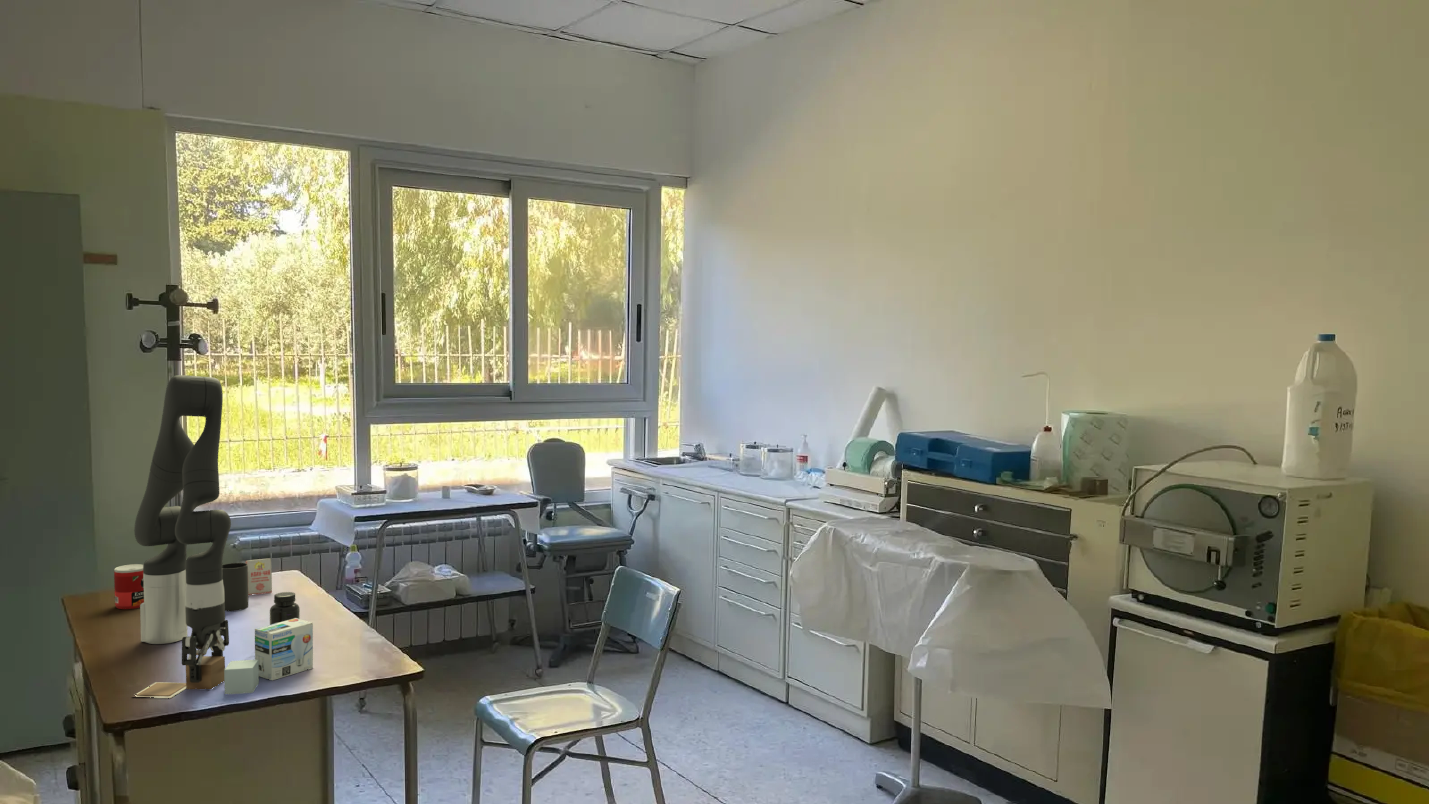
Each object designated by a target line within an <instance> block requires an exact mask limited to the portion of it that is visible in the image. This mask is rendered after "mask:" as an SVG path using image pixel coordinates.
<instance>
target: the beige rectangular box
mask: <svg viewBox="0 0 1429 804" xmlns="http://www.w3.org/2000/svg"><path fill="white" fill-rule="evenodd" d="M245 563H246V564H248V596H253V595H252V594H256V595H263V594H273V577H272V573H273V572H272V558H270V557H269V558H259V559H250V560H245Z"/></svg>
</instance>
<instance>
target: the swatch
mask: <svg viewBox="0 0 1429 804" xmlns="http://www.w3.org/2000/svg"><path fill="white" fill-rule="evenodd" d="M149 686H150V687H149ZM149 686H148V687H146V688H143V689H142V690H140V691H139V692H137V693H136V694H137V695H135V694H134V695H135V696H136V697H150V698H149V699H152V698H151V697H154V698H153V699H168V698H169V699H173V698H174V697H176V696H177V695H178V694H180V693H181V692H184V691H185V690H187V689H186V682H162V681H161V682H160V681H159V682H157V681H155V682H153V683H151V684H150V685H149ZM175 695H176V696H175Z"/></svg>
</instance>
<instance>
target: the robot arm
mask: <svg viewBox="0 0 1429 804" xmlns="http://www.w3.org/2000/svg"><path fill="white" fill-rule="evenodd" d="M223 404H224V403H223V386H222V383H221V381H220V380H219V378H216V377H212V376H202V375H201V376H199V375H188V374H187V375H185V374H182V375H174V376H173V375H172V376H171V378H170V379H169V381H168V383H167V385H166V390H165V394H164V401H163V408H162V414H161V423H160V428H159V432H158V436H157V441H156V445H155V447H154V451H153V455H152V458H151V462H150V466H149V467H150V468H149V474H148V480H147V482H146V483H147V484H146V487H145V492H144V495H143V497H142V500H141V503H140V505H139V508H138V512H137V514H136V517H135V521H134V530H133V531H134V538H135V541H136V542H137V543H138V544H139V545H141V546H143V547H155V546H162V545H163V546H164V545H167V546H166V548H165V549H163V550H162V551H161V552H159V553H158V554H156V555H154V556H152V557H150V558H148V559H147V560H145V561H144V562H143V564H142V565H143V578H144V603H142V604H141V605H140V609H139V612H140V615H139V616H140V642H143V643H146V644H152V645H163V644H164V645H165V644H171V643H175V642H179V641H181V665H182V666H186V665H188V666H189V676H190V682H191V683H199V682H200V681H201V680H202V671H201V665H200V664H201V661H202V658H203V656H207V653H208V650H209V649H210V650H211V653H210V656H223V657H224V651H225V650H226V646H227V647H228V646H229V645H230V634H229V632H230V631H229V620H228V619H226V611H225V598H224V585H223V568H222V565H224V564H223V563H224V562H223V559H224V554H225V553H224V552H225V548H226V544H227V541H228V537H229V535H230V530H231V527H232V520H231V518H230V515H229V514H228V512H227V511H225V510H223V509H210V510H195V509H197V507H200V506H203V505H207V504H209V503H213V502H215V501H217V499H219V497H220V475H219V450H220V440H221V429H222V415H223ZM181 417H204V418H205V423H204V427H203V430H202V432H201V434H200V436H199V438H198V439H197V440H196V442H195V443H193V441H192V439H191V438H190V437H189V435H188V434H187V433H186V431H185V430H184V428H183V426H182V424H181V422H180V418H181ZM181 492H182V501H181V506H179V505H175V506H166V505H167V504H168V503H169V502H170V501H171V500H173V498H175V497H176V496H177V495H178V494H180V493H181ZM194 510H195V511H194ZM209 543H212V544H211V546H210V547H209V548H208V549H206V550H204V551H202V552H199V553H195V554H192V555H190V556H188V555H187V545H197V544H198V545H199V544H209ZM188 627H190V628H191V634H190V636H188ZM222 636H223V637H222ZM196 658H197V660H196Z"/></svg>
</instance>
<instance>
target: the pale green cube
mask: <svg viewBox="0 0 1429 804" xmlns="http://www.w3.org/2000/svg"><path fill="white" fill-rule="evenodd" d="M259 679H260V676H259V664H258V659H257V660H255V659H244V660H243V659H242V660H230V662H229V663H228V664H227V666H225V669H224V682H223V683H224V695H225V694H228V695H237V694H238V695H239V694H253V693H254V692H255V690H256V689H257V687H258V686H259V684H260V683H259V682H260V681H259ZM257 685H258V686H257ZM256 686H257V687H256ZM255 688H256V689H255Z"/></svg>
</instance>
